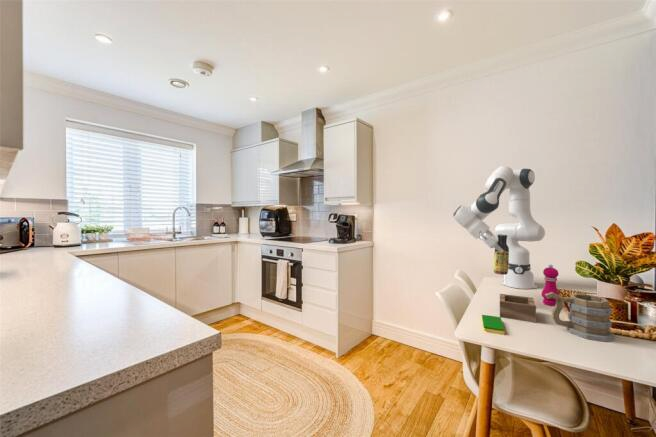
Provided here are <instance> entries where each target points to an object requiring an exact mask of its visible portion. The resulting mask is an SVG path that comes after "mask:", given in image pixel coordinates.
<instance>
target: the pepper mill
mask: <svg viewBox="0 0 656 437" xmlns="http://www.w3.org/2000/svg"><path fill="white" fill-rule="evenodd" d="M542 274H543V276H544V280H545V281H544V282H545V284H544V287H543V289H542V291H541V297H542V303H543V304H544V305H546V306H548V307H549V306H550V307H555V304H556V299H555V298H553V297H552V298H549V299H548V298H547V297H546V296H545V294H548V293H550V292H553V293H555V294H557V295H559V296H561V295H560V292H559V289H558V287H557V281H558V278H557V277H558V276H559V271H558V269H556V268H554V265H552V264H549V265H548V266H547V267H545V268H544V269H543V271H542Z"/></svg>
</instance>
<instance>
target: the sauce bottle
mask: <svg viewBox="0 0 656 437" xmlns="http://www.w3.org/2000/svg"><path fill="white" fill-rule="evenodd" d="M497 239H498V243H497V244H498V245H499V246H500V247H501V248H502V249H503V250H504V252H502V253H500V252H499V251H498V250H496V249H495V248H494V253H493V254H494V258H493V272H494V274H497V275H502V276H504V275H506V274H507V273H508V264H509V247H508V245H507V235H503V234H498V238H497Z"/></svg>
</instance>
